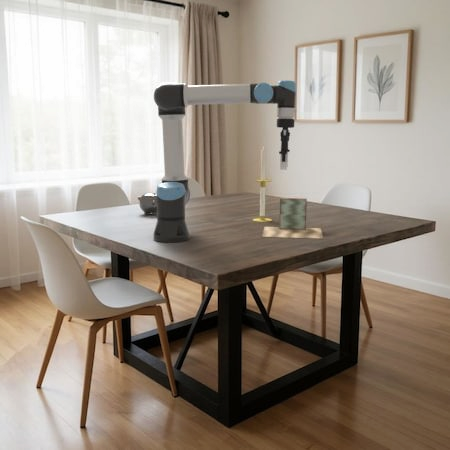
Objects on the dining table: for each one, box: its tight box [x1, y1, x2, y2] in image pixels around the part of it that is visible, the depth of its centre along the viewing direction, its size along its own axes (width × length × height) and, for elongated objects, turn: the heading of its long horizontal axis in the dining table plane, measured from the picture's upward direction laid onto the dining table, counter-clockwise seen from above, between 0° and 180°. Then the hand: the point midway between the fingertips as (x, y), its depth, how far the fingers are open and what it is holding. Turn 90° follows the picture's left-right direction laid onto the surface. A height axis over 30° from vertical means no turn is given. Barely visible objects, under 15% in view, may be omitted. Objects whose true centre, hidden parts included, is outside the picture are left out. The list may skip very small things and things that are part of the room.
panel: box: [278, 197, 308, 230], centre depth 249 cm, size 12×3×14 cm, turn 83°
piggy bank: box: [137, 192, 157, 217], centre depth 287 cm, size 11×15×12 cm
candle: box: [252, 145, 273, 223], centre depth 269 cm, size 10×10×38 cm
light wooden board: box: [261, 226, 324, 240], centre depth 242 cm, size 26×22×1 cm
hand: (283, 168), depth 235 cm, fingers open, 13 cm apart
